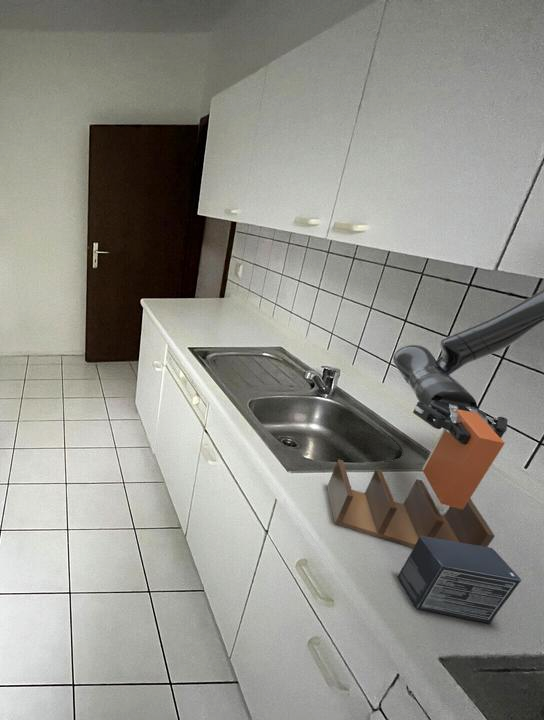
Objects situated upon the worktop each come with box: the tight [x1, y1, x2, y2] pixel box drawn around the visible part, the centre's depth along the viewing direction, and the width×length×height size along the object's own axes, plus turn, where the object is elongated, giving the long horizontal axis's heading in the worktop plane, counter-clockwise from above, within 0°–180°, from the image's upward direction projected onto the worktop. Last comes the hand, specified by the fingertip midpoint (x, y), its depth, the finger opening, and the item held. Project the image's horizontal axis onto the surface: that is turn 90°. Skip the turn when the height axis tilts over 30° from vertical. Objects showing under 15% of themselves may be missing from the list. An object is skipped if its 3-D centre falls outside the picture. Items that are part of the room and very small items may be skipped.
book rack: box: [326, 459, 495, 549], centre depth 79 cm, size 22×12×8 cm, turn 65°
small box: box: [397, 536, 523, 624], centre depth 63 cm, size 11×6×10 cm, turn 77°
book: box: [421, 409, 506, 510], centre depth 71 cm, size 3×10×15 cm, turn 155°
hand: (480, 442), depth 66 cm, fingers closed on book, 3 cm apart
